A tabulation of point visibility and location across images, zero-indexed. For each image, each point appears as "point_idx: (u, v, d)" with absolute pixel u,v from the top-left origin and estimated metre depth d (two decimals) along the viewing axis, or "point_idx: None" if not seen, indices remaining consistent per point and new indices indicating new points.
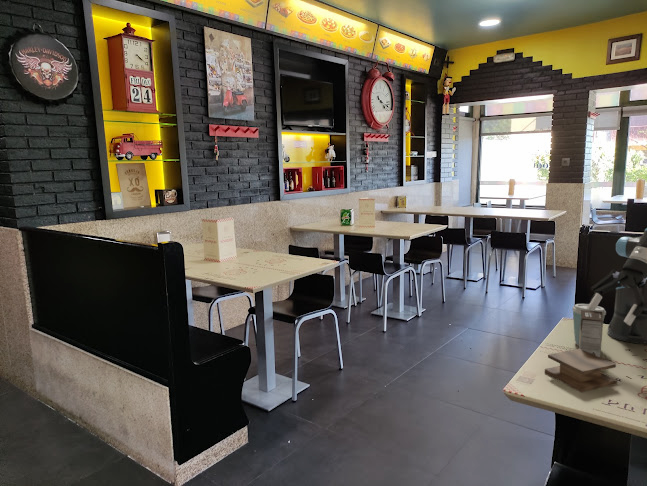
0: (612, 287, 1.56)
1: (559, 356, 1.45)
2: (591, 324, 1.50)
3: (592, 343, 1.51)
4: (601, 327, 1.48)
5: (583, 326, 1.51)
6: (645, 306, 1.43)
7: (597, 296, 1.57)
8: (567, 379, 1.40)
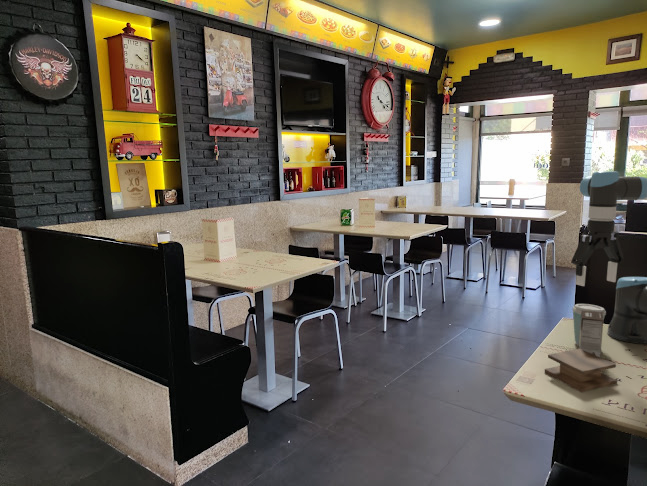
0: (608, 251, 1.51)
1: (559, 356, 1.45)
2: (591, 324, 1.50)
3: (592, 343, 1.51)
4: (602, 327, 1.49)
5: (583, 325, 1.51)
6: (575, 264, 1.48)
7: (609, 264, 1.54)
8: (567, 379, 1.40)
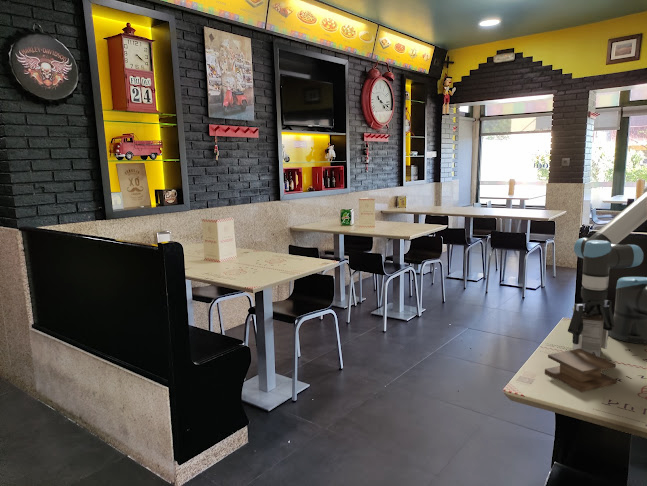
0: None
1: (559, 356, 1.45)
2: (591, 324, 1.50)
3: (592, 343, 1.51)
4: (602, 327, 1.49)
5: (583, 325, 1.51)
6: (572, 333, 1.52)
7: None
8: (567, 379, 1.40)
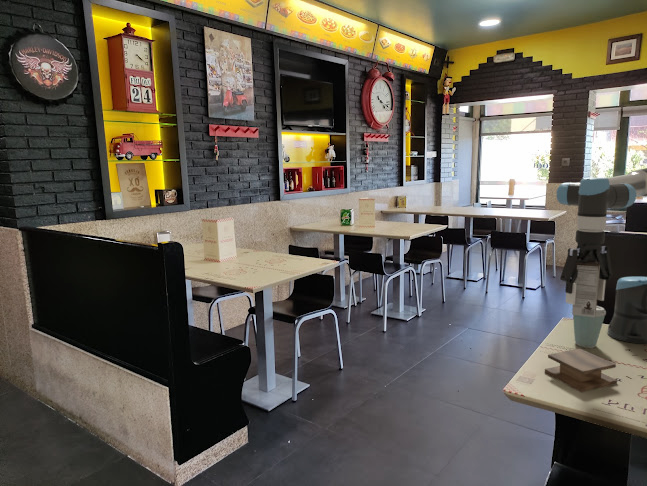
0: None
1: (559, 356, 1.45)
2: (586, 270, 1.35)
3: (587, 292, 1.36)
4: (598, 273, 1.33)
5: None
6: (565, 281, 1.37)
7: None
8: (567, 379, 1.40)
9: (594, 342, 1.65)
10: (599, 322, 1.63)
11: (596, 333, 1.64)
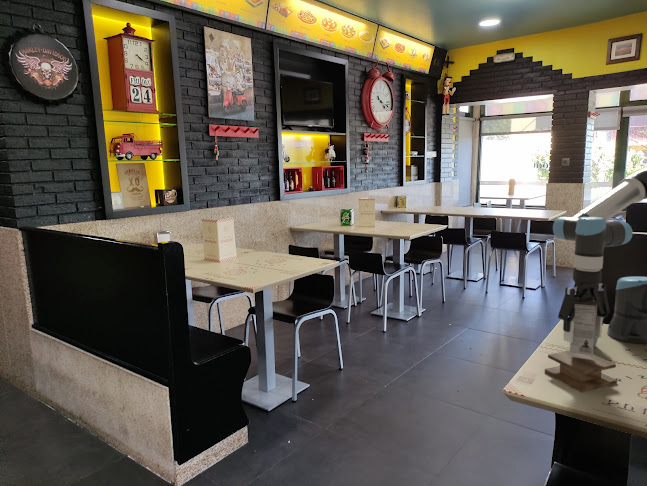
0: None
1: (559, 356, 1.45)
2: (584, 308, 1.36)
3: (585, 330, 1.36)
4: (595, 312, 1.34)
5: (575, 310, 1.37)
6: (562, 319, 1.38)
7: None
8: (567, 379, 1.40)
9: (594, 342, 1.65)
10: None
11: None
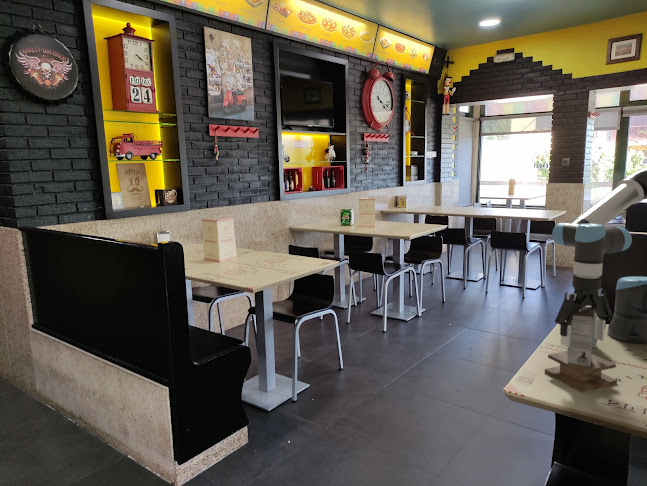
0: (595, 308, 1.41)
1: (559, 356, 1.45)
2: (581, 320, 1.36)
3: (582, 341, 1.37)
4: (593, 323, 1.35)
5: (572, 322, 1.37)
6: None
7: (596, 321, 1.43)
8: (567, 379, 1.40)
9: (594, 342, 1.65)
10: None
11: None
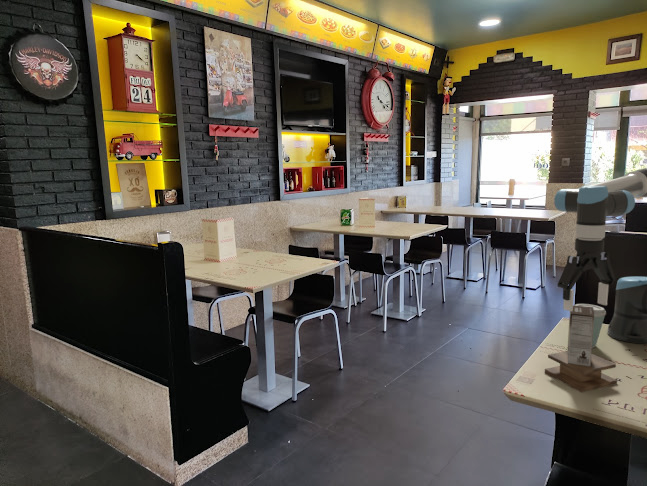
0: (598, 272, 1.39)
1: (559, 356, 1.45)
2: (581, 320, 1.36)
3: (582, 341, 1.37)
4: (593, 323, 1.35)
5: (572, 322, 1.37)
6: None
7: (600, 286, 1.41)
8: (567, 379, 1.40)
9: (594, 342, 1.65)
10: (599, 322, 1.63)
11: (596, 333, 1.64)
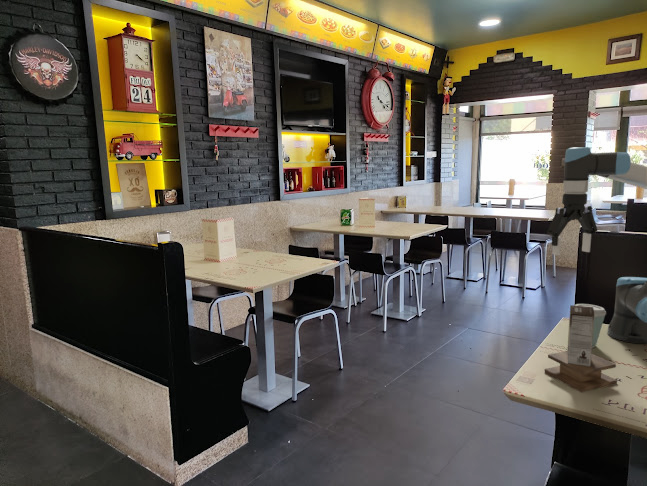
0: (582, 223, 1.62)
1: (559, 356, 1.45)
2: (581, 320, 1.36)
3: (582, 341, 1.37)
4: (593, 323, 1.35)
5: (572, 322, 1.37)
6: (551, 235, 1.58)
7: (584, 236, 1.64)
8: (567, 379, 1.40)
9: (594, 342, 1.65)
10: (599, 322, 1.63)
11: (596, 333, 1.64)
